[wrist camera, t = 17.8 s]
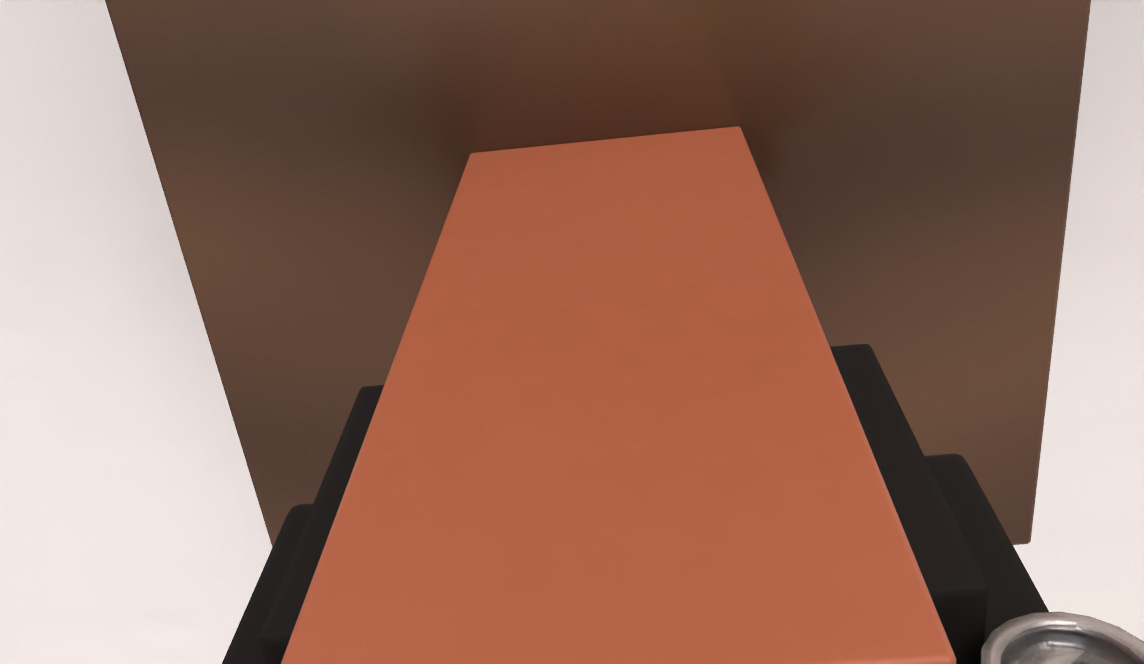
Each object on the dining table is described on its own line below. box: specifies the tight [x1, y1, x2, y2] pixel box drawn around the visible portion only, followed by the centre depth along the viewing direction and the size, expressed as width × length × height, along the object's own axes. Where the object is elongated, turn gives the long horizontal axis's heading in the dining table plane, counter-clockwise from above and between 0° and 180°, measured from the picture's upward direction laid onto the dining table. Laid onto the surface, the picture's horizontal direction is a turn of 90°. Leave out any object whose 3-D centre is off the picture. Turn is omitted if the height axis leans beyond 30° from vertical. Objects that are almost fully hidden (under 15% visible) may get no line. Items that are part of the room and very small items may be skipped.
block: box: [281, 126, 956, 664], centre depth 12 cm, size 4×4×10 cm
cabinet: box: [105, 0, 1091, 547], centre depth 19 cm, size 17×14×9 cm
